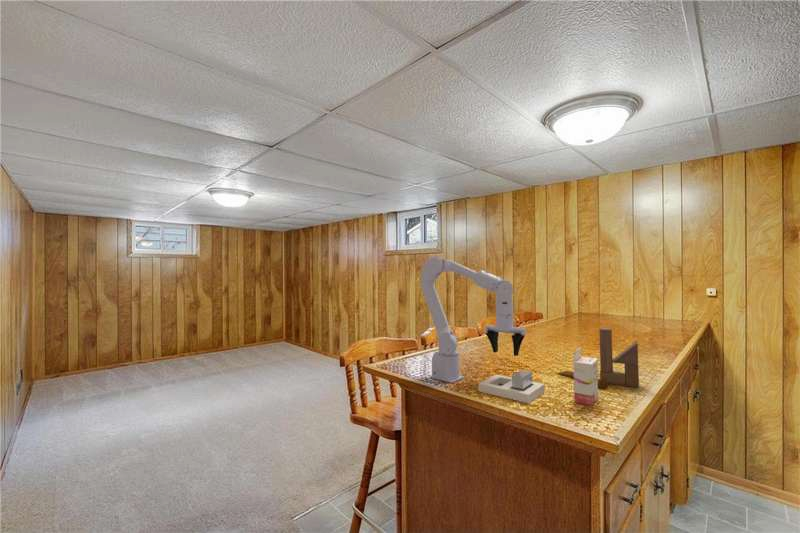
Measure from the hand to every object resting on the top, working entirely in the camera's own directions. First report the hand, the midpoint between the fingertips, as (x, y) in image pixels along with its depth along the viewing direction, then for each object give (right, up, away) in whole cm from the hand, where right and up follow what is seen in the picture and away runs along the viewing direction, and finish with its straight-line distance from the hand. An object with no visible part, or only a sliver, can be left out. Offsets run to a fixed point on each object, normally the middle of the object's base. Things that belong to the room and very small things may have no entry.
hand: (505, 353), depth 122 cm
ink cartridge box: (+18, -9, -19) cm, 28 cm away
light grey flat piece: (-1, -9, -11) cm, 14 cm away
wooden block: (+36, -9, -6) cm, 37 cm away
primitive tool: (+25, -10, -1) cm, 27 cm away
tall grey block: (+1, -9, -13) cm, 16 cm away
